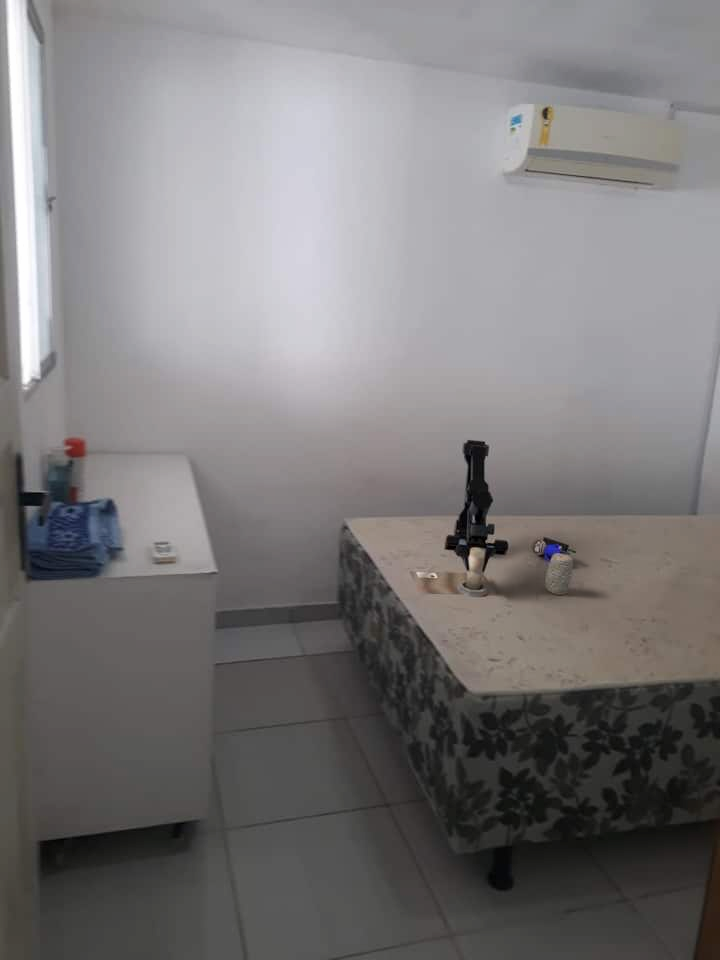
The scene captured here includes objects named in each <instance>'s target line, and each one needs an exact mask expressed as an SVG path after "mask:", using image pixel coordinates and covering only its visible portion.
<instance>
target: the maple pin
mask: <svg viewBox="0 0 720 960" xmlns="http://www.w3.org/2000/svg"><path fill="white" fill-rule="evenodd" d="M485 551H486V549H482V548H476V547H474V548H471V549H470V556H468V562H469V570H468V571H467V570H466V573H467V578H466V585H465V586H466V588H468V589H470V590H479V589H480V585H481V577H482V573H483V571H482V570H483V563H484V556H485Z"/></svg>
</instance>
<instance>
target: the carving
mask: <svg viewBox="0 0 720 960" xmlns="http://www.w3.org/2000/svg"><path fill="white" fill-rule="evenodd" d="M573 562H574V559H573V558H572V557H571V555H568V554H566V555H565V554H560V553H556V554H554V555H553V556H552V558H551V560H550V563H549V562H548V568H547V571H546V575H545V581H544V582H545V583H544V584H545V585H544V586H545V588H546V590H547V591H549V592H550V593H551V594H554V595H559V596H563V595H565V594H566V592H567V590H568V588H569V586H570V583H571V581H572V580H571V579H572V575H573V565H574V563H573Z"/></svg>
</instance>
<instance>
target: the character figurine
mask: <svg viewBox="0 0 720 960" xmlns="http://www.w3.org/2000/svg"><path fill="white" fill-rule="evenodd" d="M569 546H570V545H569V544H567V543H564V542H560V541H557V540H555V539H551V538H548V537H543V539H537V540H535V541H533V543H532V545H531V550H532V552H533V554H534V555H537V556H538V557H541V558H545V559H546V560H547V562H548V564H549V563H550V560H551V558H552V556H553V555H554V554H556V553H560V554H565V555H568V556H571V555H572V554H571V553H573V554H576V553H577V551H576V550H574V549H570V548H569ZM573 564H574V561H573Z"/></svg>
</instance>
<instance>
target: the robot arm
mask: <svg viewBox="0 0 720 960" xmlns="http://www.w3.org/2000/svg"><path fill="white" fill-rule="evenodd" d="M461 450H462V454H463V459H464V463H466V465H467V468H466V477H465V488H464V489H465V490H464V498H463V499H464V500H463V508H462V509H461V511H460V512H459V514H458V515H457V519H456V520H455V523H454V527H453V534H447V535H446V537H445V541H444V550H446V551H454V553H455V555H456V556H460V558H461V560H462V562H463V564H464V568H465V571H466V572H467V571H468V570H469V556H470V549H471V548H474V547H476V548H482V549H484V550H485V556H484V563H483V570H482V573H483V574H484V573H485V572H486V571H485V570H486V568H487V565H488V562H489V560H490V558H492V557H495V555H496V556H506V554H507V552H508V550H509V542H508V541H507V539H506V540H505V539H495V540H494V542H486V541H488V537H489V536H488V535H490V536H493V535H495V523H488V524H487V516H488V513H489V511H490V508H491V506H492V504H493V502H494V497H493V495H491V494H492V493H491V491H489V490H490V489H489V488H490V487H489V483H487V481H486V480H485V463H486V462H485V461H486V457H488V456H489V451H490V445H489V444H486V441H484V440H476V439H474V440H473V439H467V440H466V442H463V443H462V449H461Z"/></svg>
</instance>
